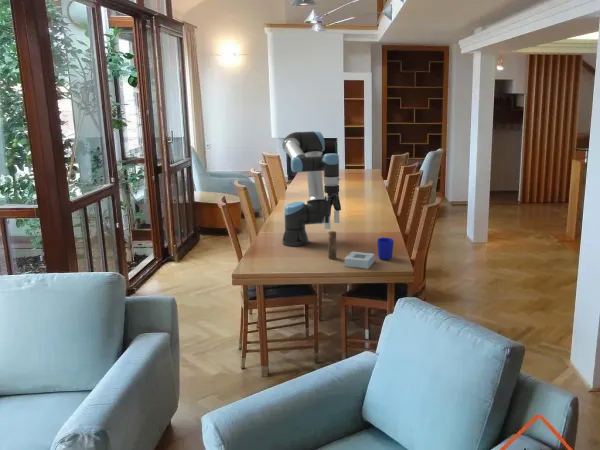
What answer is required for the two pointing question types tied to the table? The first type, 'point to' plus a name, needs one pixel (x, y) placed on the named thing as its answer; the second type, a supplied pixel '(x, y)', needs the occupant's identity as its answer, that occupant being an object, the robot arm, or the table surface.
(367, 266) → the socket
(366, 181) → the table surface
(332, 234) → the peg
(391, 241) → the mug
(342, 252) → the table surface
